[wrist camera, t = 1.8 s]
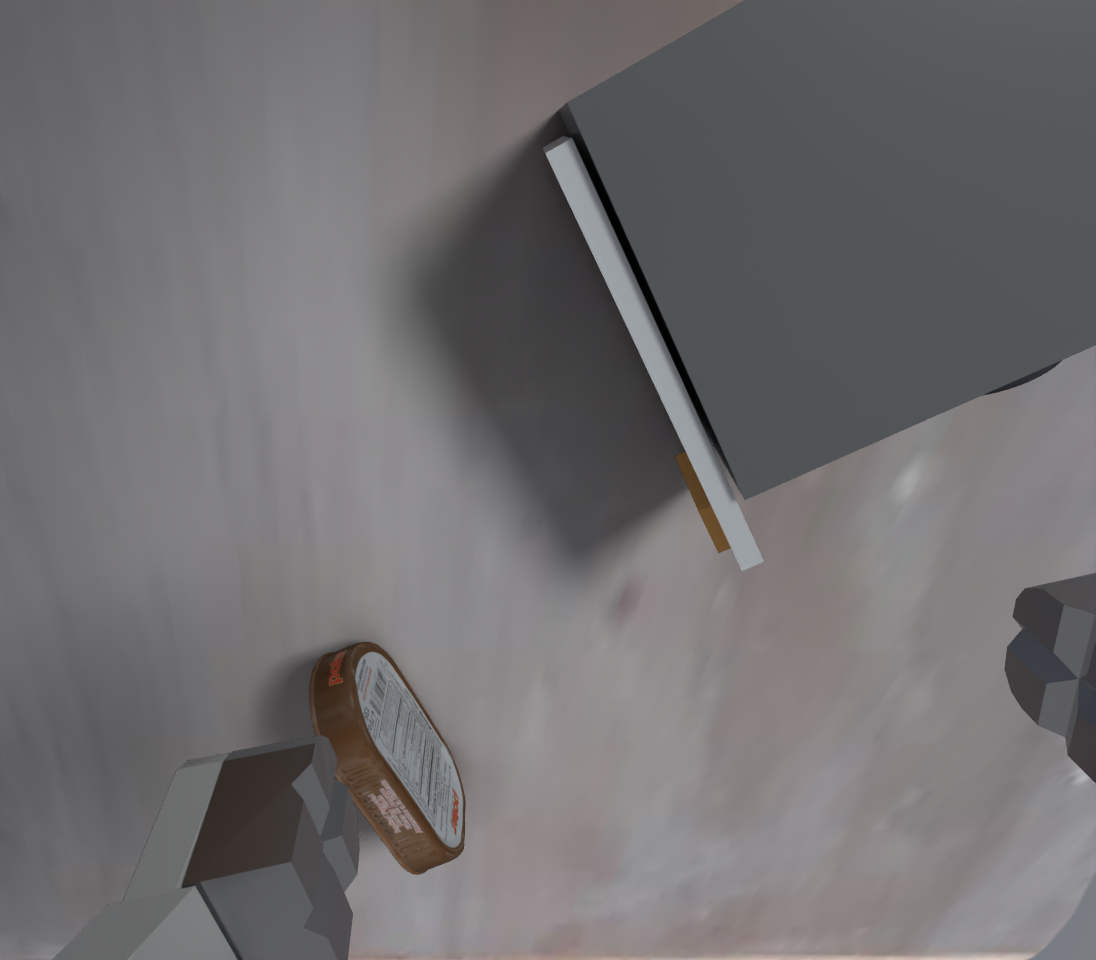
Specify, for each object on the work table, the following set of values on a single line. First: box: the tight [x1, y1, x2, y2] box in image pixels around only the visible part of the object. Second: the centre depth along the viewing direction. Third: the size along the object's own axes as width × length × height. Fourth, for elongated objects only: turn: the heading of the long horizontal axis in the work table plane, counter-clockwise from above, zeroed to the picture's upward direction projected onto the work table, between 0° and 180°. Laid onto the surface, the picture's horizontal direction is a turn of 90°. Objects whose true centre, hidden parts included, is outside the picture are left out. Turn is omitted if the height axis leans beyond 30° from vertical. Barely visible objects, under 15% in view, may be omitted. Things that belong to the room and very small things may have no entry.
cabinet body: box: [558, 0, 1096, 500], centre depth 30 cm, size 16×17×10 cm
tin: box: [309, 642, 466, 875], centre depth 43 cm, size 15×3×8 cm, turn 22°
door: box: [543, 136, 764, 571], centre depth 32 cm, size 2×18×9 cm, turn 27°
